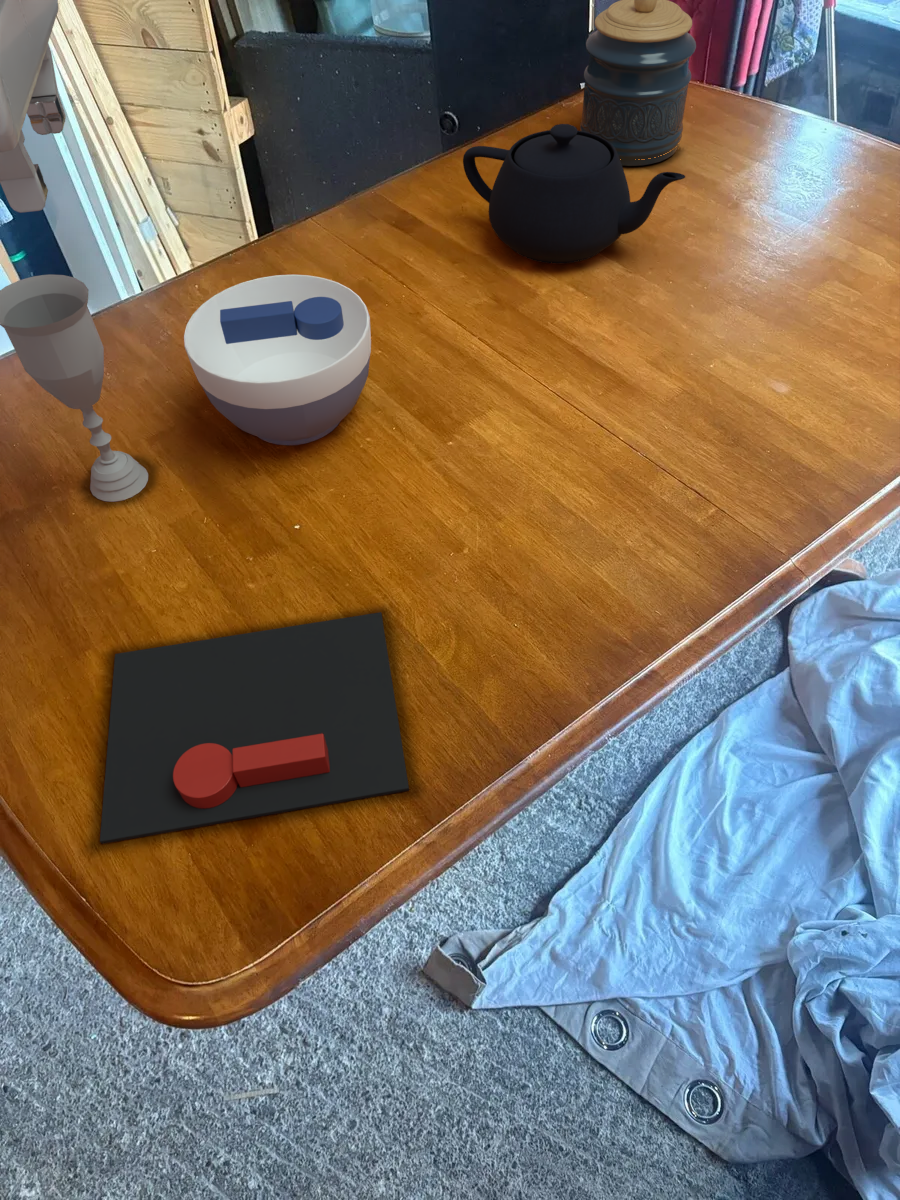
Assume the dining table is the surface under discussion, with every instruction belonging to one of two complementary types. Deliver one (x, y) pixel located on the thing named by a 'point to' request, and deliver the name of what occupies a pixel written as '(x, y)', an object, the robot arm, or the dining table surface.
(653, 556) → the dining table surface
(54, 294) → the chalice
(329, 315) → the blue spoon
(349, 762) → the mat
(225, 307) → the bowl
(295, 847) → the dining table surface
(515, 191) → the teapot
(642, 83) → the canister
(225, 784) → the red spoon
